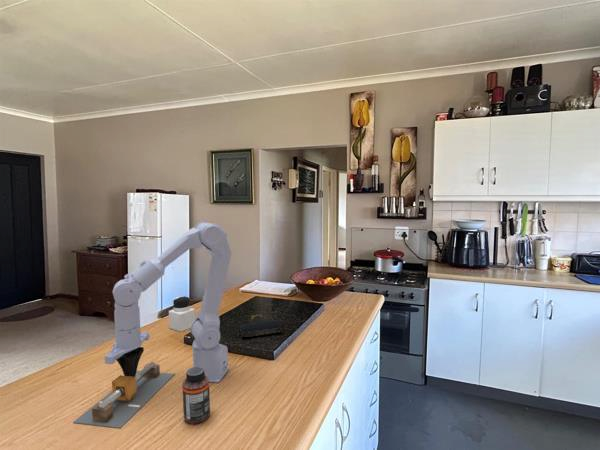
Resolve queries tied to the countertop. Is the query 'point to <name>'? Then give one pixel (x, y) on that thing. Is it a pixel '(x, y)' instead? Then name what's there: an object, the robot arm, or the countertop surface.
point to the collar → (126, 382)
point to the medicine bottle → (181, 314)
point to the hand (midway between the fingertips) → (130, 377)
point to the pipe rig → (121, 411)
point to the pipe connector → (260, 324)
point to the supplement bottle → (196, 396)
